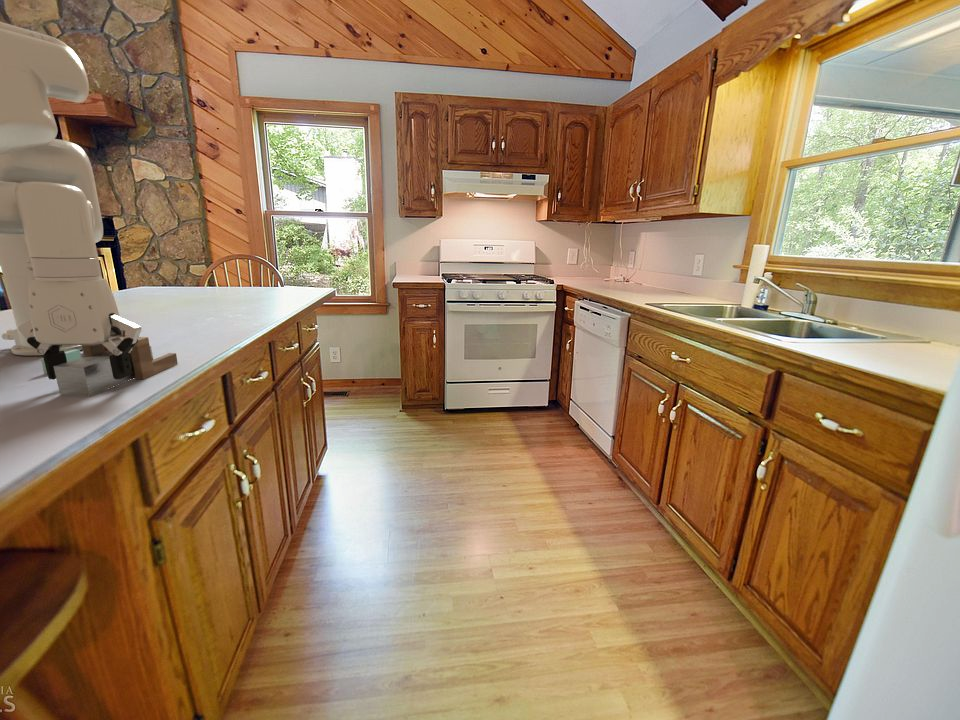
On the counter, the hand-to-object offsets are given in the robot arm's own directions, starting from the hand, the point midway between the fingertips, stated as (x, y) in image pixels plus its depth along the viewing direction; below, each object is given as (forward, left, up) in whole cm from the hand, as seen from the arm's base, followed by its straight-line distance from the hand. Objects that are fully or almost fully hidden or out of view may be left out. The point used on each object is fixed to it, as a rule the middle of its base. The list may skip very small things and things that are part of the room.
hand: (91, 377), depth 69 cm
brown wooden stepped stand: (0, +10, -2) cm, 10 cm away
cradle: (-10, +11, -2) cm, 15 cm away
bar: (0, +4, 0) cm, 4 cm away
